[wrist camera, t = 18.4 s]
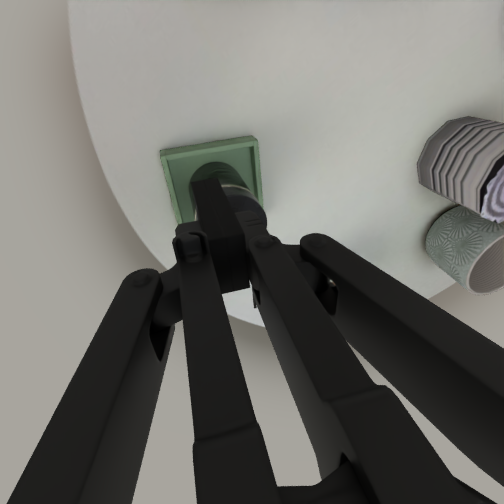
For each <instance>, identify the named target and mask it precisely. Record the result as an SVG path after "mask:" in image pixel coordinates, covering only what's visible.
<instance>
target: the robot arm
mask: <svg viewBox="0 0 504 504" xmlns="http://www.w3.org/2000/svg"><path fill="white" fill-rule="evenodd" d="M191 187H192V192H193V197H194V203H195V208H196V213H197V218H198V220H197V221H192V222H186V223H181V224H179V225H178V226H177V228H176V229H175V232H176V237H175V238H174V239H173V241H172V244H173V248H174V252H175V256H176V260H177V263H176V264H175V265H174V266H173V267H172V268H171V269H169V270H167V271H165V272H163V273H161V274H159V273H158V271H157V270H154V269H147V268H146V269H141V270H137V271H134V272H132V273H131V274H129V275H128V276H127V277H126V278H125V279H124V280H123V282H122V284H121V286H120V288H119V290H118V292H117V293H116V295H115V297H114V299H113V301H112V303H111V305H110V307H109V309H108V311H107V313H106V314H105V316H104V318H103V320H102V322H101V324H100V326H99V328H98V330H97V332H96V334H95V335H94V337H93V339H92V341H91V343H90V345H89V347H88V349H87V351H86V353H85V355H84V357H83V359H82V360H81V362H80V364H79V366H78V368H77V370H76V372H75V374H74V376H73V378H72V380H71V382H70V383H69V385H68V387H67V389H66V391H65V393H64V395H63V397H62V399H61V401H60V403H59V405H58V406H57V408H56V410H55V412H54V414H53V416H52V418H51V420H50V422H49V424H48V425H47V427H46V430H45V431H44V433H43V435H42V437H41V439H40V441H39V443H38V445H37V447H36V449H35V450H34V452H33V455H32V456H31V458H30V460H29V462H28V464H27V466H26V468H25V470H24V471H23V474H22V475H21V477H20V479H19V481H18V483H17V485H16V487H15V489H14V491H13V493H12V494H11V496H10V498H9V500H8V502H7V504H132V500H133V496H134V492H135V488H136V484H137V480H138V475H139V471H140V467H141V463H142V459H143V456H144V451H145V447H146V443H147V439H148V435H149V431H150V427H151V423H152V419H153V415H154V411H155V407H156V403H157V399H158V395H159V391H160V387H161V383H162V379H163V375H164V371H165V367H166V363H167V359H168V355H169V351H170V346H171V343H172V338H173V335H174V331H175V323H177V322H179V321H181V320H183V328H184V337H185V346H186V357H187V366H188V377H189V387H190V396H191V406H192V416H193V426H194V437H195V438H194V444H193V463H194V464H193V465H194V476H195V487H196V498H197V504H497V503H495V502H494V501H492V500H490V499H489V498H487V497H486V496H484V495H482V494H481V493H479V492H478V491H476V490H475V489H473V488H471V487H470V486H468V485H467V484H465V483H463V482H462V481H460V480H459V479H457V478H455V477H454V476H453V475H452V474H451V473H450V471H449V470H448V468H447V467H446V465H445V464H444V463H443V461H442V460H441V458H440V457H439V456H438V454H437V453H436V451H435V450H434V448H433V447H432V446H431V444H430V443H429V441H428V440H427V438H426V437H425V436H424V434H423V433H422V431H421V430H420V428H419V427H418V426H417V424H416V423H415V421H414V420H413V418H412V417H411V415H410V414H409V413H408V411H407V410H406V408H405V407H404V405H403V404H402V403H401V401H400V400H399V398H398V397H397V396H396V395H395V394H394V392H393V391H392V390H391V389H390V388H388V387H387V386H385V385H377V384H375V383H374V382H373V381H372V379H371V378H370V377H369V375H368V374H367V372H366V371H365V369H364V368H363V366H362V364H361V363H360V361H359V360H358V358H357V357H356V355H355V354H354V352H353V351H352V349H351V348H350V346H349V345H348V343H349V344H350V345H351V346H352V347H353V348H354V349H356V350H357V351H358V352H359V353H360V354H361V355H362V356H363V357H364V358H365V359H366V360H367V361H368V362H369V363H370V364H371V365H372V366H373V367H374V368H375V369H376V370H377V371H378V372H379V373H381V374H382V375H383V377H385V378H386V379H387V380H388V381H389V382H390V383H391V384H392V385H393V386H394V387H395V388H396V389H397V390H398V391H399V392H400V393H401V394H402V395H403V396H404V397H405V398H406V399H408V401H409V402H410V403H411V404H412V405H413V406H415V407H416V408H417V409H418V410H419V411H420V412H421V413H422V414H423V415H424V416H425V417H426V418H427V419H428V420H429V421H430V422H431V423H432V424H433V425H434V426H435V427H436V428H437V429H439V431H440V432H441V433H443V434H444V435H445V436H446V437H447V438H448V439H449V440H450V441H451V442H452V443H453V444H454V445H455V446H456V447H457V448H458V449H459V450H460V451H461V452H462V453H464V454H465V455H466V456H467V457H468V458H469V459H470V460H471V461H472V462H474V463H475V464H476V465H477V466H478V467H479V468H480V469H482V470H483V471H484V472H485V473H487V474H488V475H489V476H491V477H492V478H493V479H494V480H496V481H497V482H498V483H500V484H501V485H502V486H504V348H502V347H500V346H499V345H497V344H496V343H494V342H493V341H491V340H490V339H488V338H486V337H485V336H483V335H482V334H480V333H479V332H477V331H475V330H474V329H472V328H471V327H469V326H468V325H466V324H465V323H463V322H461V321H460V320H458V319H457V318H455V317H454V316H452V315H451V314H449V313H447V312H446V311H444V310H443V309H441V308H440V307H438V306H437V305H435V304H433V303H432V302H430V301H429V300H427V299H426V298H424V297H423V296H421V295H419V294H418V293H416V292H415V291H413V290H412V289H410V288H409V287H407V286H405V285H404V284H402V283H401V282H399V281H398V280H396V279H395V278H393V277H391V276H390V275H388V274H387V273H385V272H384V271H382V270H380V269H379V268H377V267H376V266H374V265H373V264H371V263H370V262H368V261H366V260H365V259H363V258H362V257H360V256H359V255H357V254H356V253H354V252H352V251H351V250H349V249H348V248H346V247H345V246H343V245H342V244H340V243H338V242H337V241H335V240H334V239H332V238H331V237H329V236H327V235H324V234H319V233H316V234H315V233H312V234H308V235H305V236H303V237H302V238H301V240H300V245H286V244H282V243H281V241H280V240H279V239H278V238H277V237H275V236H273V235H270V234H269V233H268V231H267V229H266V228H265V226H264V225H263V224H262V222H261V220H260V218H259V217H258V215H257V214H256V213H254V212H252V211H250V210H248V211H243V212H237V213H234V211H233V209H232V207H231V205H230V203H229V201H228V199H227V197H226V194H225V192H224V190H223V188H222V186H221V184H220V182H219V180H218V178H213V179H206V180H200V181H194V182H191ZM249 280H250V282H251V284H252V292H253V302H254V308H257V307H258V309H259V312H260V315H261V317H262V320H263V322H264V325H265V327H266V330H267V332H268V335H269V337H270V340H271V342H272V345H273V347H274V350H275V352H276V355H277V358H278V360H279V362H280V365H281V368H282V370H283V373H284V375H285V378H286V380H287V383H288V385H289V388H290V391H291V393H292V395H293V398H294V400H295V403H296V406H297V408H298V411H299V413H300V416H301V418H302V421H303V423H304V426H305V428H306V431H307V434H308V436H309V439H310V441H311V444H312V446H313V449H314V452H315V454H316V458H317V462H318V467H319V471H320V476H321V479H322V481H321V482H320V483H318V484H316V485H313V486H281V487H277V484H276V481H275V477H274V473H273V470H272V467H271V463H270V459H269V456H268V452H267V449H266V445H265V441H264V438H263V435H262V432H261V429H260V426H259V424H258V423H257V420H256V417H255V414H254V410H253V407H252V403H251V399H250V396H249V392H248V388H247V385H246V381H245V377H244V374H243V370H242V366H241V363H240V359H239V356H238V352H237V349H236V345H235V341H234V337H233V334H232V330H231V327H230V323H229V319H228V316H227V312H226V308H225V305H224V301H223V297H222V294H224V293H229V292H233V291H237V290H242V289H246V288H250V282H249ZM330 280H332V281H333V282H334V283H335V285H334V284H333V283H332V282H330ZM256 304H257V306H256ZM346 341H347V342H348V343H347V342H346Z"/></svg>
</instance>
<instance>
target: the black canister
mask: <svg viewBox="0 0 504 504" xmlns="http://www.w3.org/2000/svg"><path fill="white" fill-rule="evenodd" d="M213 178H218V180H219V182H220V184H221V186H222V188H223V190H224V192H225V194H226V197H227V199H228V201H229V203H230V205H231V207H232V209H233V211H234V213H237V212H243V211H248V210H250V211H252V212H254V213H256V214H257V215H258V217H259V218H260V220H261V222H262V224H263V225H264V226H265V228H267V218H266V214H265V212H264V209H263V208H262V207H261V205H260V204H259V202H258V200H257V198H256V197H255V195H254V194H253V193H252V192H251V190H250V189H249V187H248V186H247V185H246V183H245V182H244V180H243V179H242V177H241V176H240V174H239V173H238V171H237V170H236V169H235V168H234V167H232V166H231V165H229V164H227V163H224V162H210V163H206V164H204V165H202V166H201V167H199V168H198V169H197V170H196V171H195V172H194V173H193V175H192V177H191V179H190V182H189V196H190V200H191V205H192V209H193V214H194V218H195V221H197V220H198V218H197V213H196V208H195V203H194V197H193V192H192V187H191V182H194V181H200V180H206V179H213Z"/></svg>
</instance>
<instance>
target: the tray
mask: <svg viewBox="0 0 504 504" xmlns="http://www.w3.org/2000/svg"><path fill="white" fill-rule="evenodd" d="M160 158H161V162H162V165H163V169H164V173H165V177H166V181H167V184H168V188H169V192H170V196H171V200H172V203H173V207H174V211H175V215H176V219H177V222H178V225H179V224H181V223H186V222H192V221H195V218H194V214H193V209H192V205H191V200H190V196H189V182H190V179H191V177H192V175H193V173H194V172H195V171H196V170H197V169H198V168H199V167H201V166H202V165H204V164H206V163H210V162H224V163H227V164H229V165H231V166H232V167H234V168H235V169H236V170H237V171H238V173H239V174H240V176H241V177H242V179H243V180H244V182H245V183H246V185H247V186H248V187H249V189H250V190H251V192H252V193H253V194H254V195H255V197H256V198H257V200H258V202H259V204H260V205H261V207H262V208H263V197H262V184H261V172H260V159H259V147H258V140H257V139H256V138H255V137H253V136H246V137H240V138H233V139H227V140H221V141H215V142H209V143H203V144H197V145H190V146H184V147H178V148H172V149H166V150H160Z"/></svg>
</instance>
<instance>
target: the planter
mask: <svg viewBox="0 0 504 504" xmlns="http://www.w3.org/2000/svg"><path fill="white" fill-rule="evenodd" d="M425 246H426V251H427V253H428V255H429V257H430V258H431V259H432V260H433V261H434V262H435V263H436V264H437V265H438V266H439V267H440V268H441V269H442V270H443V271H444V272H446V273H447V274H448V275H449V276H450V277H452V278H453V279H454V280H455V281H457V282H458V283H459V284H460V285H462V286H463V287H464V288H465V289H466V290H468V291H469V292H470V293H472V294H474V295H487V294H491V293H493V292H496V291H498V290H500V289H502V288H504V221H502V222H500V223H499V224H497V223H495V222H493V221H490V220H488V219H486V218H484V217H481V215H480V214H478V213H476V212H474V211H472V210H470V209H468V208H466V207H464V206H458V207H455V208H453V209H451V210H449V211H447V212H446V213H444V214H443V215H442V216H440V217H439V218H438V219H437V220H436V221H435V223H434V224H433V225H432V227H431V228H430V230H429V232H428V234H427V237H426V242H425Z"/></svg>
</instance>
